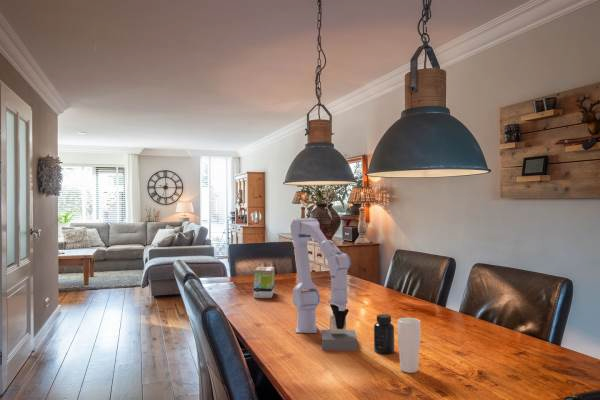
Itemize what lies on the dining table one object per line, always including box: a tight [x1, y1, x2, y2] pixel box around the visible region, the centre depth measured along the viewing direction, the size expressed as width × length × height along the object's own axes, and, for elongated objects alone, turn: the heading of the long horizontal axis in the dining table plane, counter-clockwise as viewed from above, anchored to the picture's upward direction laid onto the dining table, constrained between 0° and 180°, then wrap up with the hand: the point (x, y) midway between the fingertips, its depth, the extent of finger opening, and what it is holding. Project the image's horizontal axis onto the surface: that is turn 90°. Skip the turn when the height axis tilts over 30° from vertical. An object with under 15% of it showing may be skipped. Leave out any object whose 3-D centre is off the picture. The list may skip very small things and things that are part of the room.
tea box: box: [253, 266, 276, 299], centre depth 242 cm, size 15×10×15 cm, turn 179°
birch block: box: [329, 314, 347, 333], centre depth 157 cm, size 5×5×5 cm
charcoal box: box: [321, 329, 358, 352], centre depth 157 cm, size 12×12×4 cm
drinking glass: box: [397, 317, 422, 374], centre depth 134 cm, size 7×7×15 cm
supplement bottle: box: [373, 313, 395, 355], centre depth 151 cm, size 7×7×12 cm
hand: (338, 326), depth 157 cm, fingers closed on birch block, 5 cm apart
